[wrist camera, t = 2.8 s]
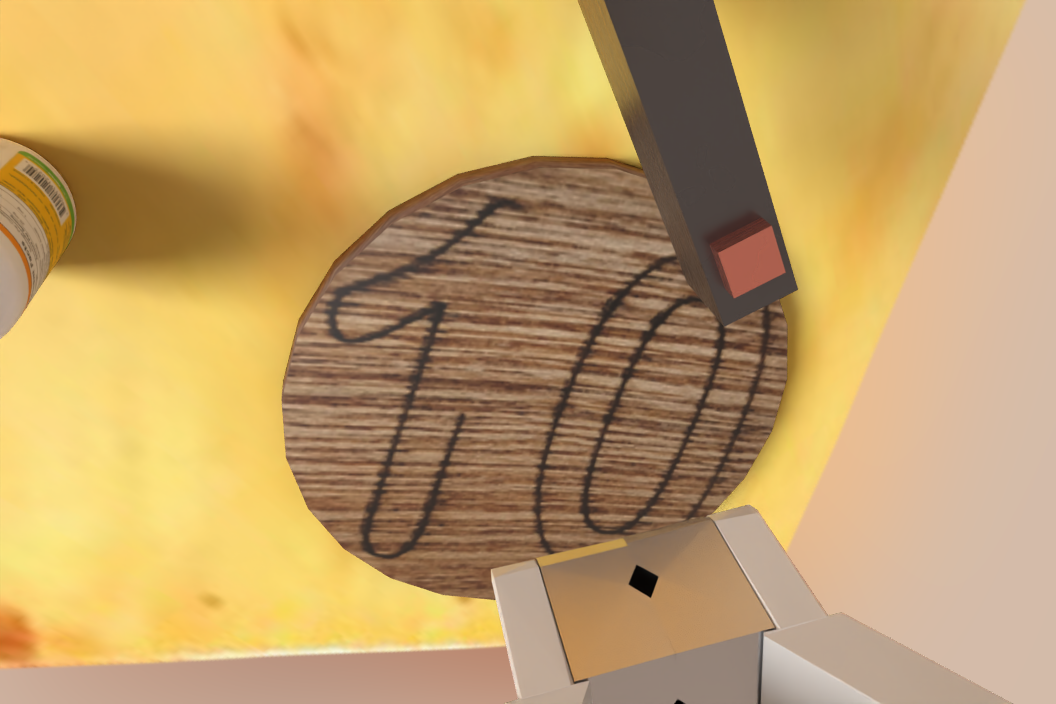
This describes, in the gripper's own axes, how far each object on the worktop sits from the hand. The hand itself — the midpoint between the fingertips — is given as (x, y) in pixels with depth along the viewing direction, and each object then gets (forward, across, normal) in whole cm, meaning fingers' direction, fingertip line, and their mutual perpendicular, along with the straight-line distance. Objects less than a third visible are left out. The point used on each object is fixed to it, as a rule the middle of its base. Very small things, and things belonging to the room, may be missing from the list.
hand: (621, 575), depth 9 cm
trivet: (+27, -3, +17) cm, 32 cm away
